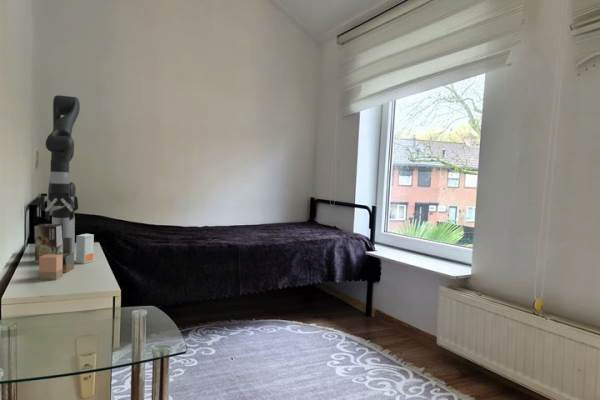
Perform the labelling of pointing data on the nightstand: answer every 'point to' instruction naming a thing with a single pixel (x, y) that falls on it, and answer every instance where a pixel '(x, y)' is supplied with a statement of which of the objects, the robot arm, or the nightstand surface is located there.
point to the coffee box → (48, 240)
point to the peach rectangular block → (50, 267)
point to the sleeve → (68, 263)
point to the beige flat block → (67, 247)
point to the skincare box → (84, 248)
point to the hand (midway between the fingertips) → (59, 220)
